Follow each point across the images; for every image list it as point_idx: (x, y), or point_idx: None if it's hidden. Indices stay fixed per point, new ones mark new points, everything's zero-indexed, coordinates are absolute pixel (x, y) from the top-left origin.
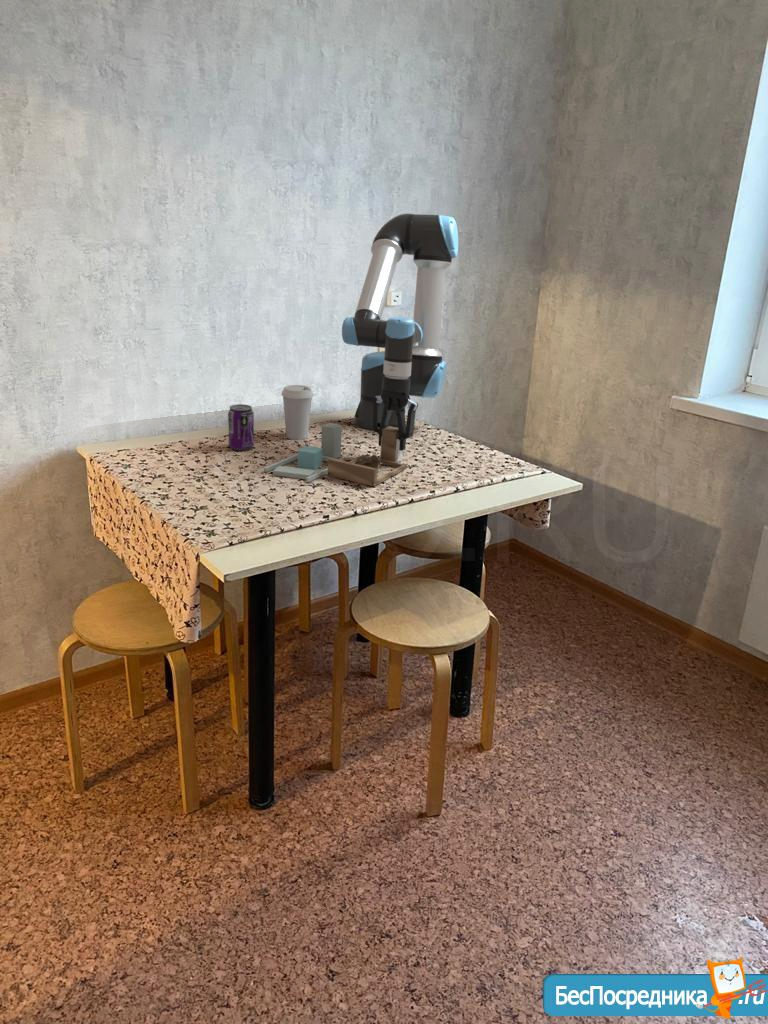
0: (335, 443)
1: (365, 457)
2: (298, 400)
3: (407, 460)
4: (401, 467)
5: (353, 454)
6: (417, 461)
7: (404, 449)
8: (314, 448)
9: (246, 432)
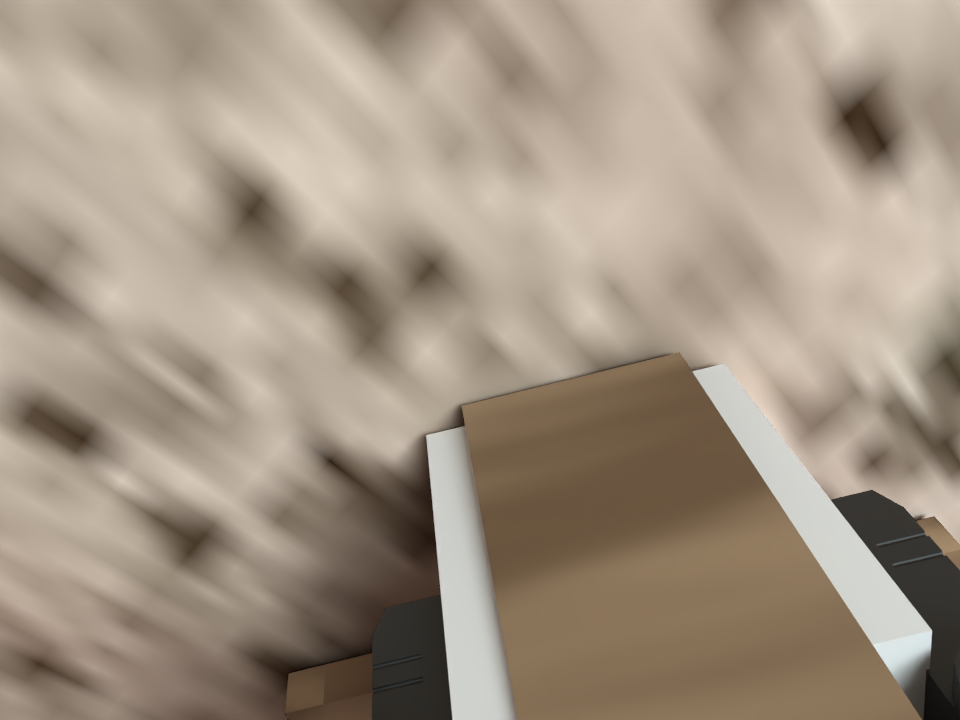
0: None
1: (368, 718)
2: None
3: (765, 260)
4: None
5: (49, 646)
6: (919, 171)
7: (878, 503)
8: None
9: None
